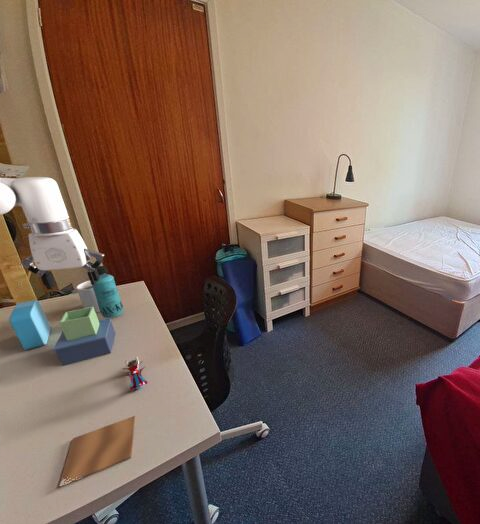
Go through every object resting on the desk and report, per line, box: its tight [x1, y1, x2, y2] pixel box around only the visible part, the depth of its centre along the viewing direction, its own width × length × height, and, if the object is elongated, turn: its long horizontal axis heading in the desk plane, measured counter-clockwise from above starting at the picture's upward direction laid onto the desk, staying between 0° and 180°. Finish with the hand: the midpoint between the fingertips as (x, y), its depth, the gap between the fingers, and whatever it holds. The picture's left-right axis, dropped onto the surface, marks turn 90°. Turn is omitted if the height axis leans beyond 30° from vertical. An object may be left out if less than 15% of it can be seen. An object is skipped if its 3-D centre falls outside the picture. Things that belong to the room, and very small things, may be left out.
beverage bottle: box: [92, 265, 124, 319], centre depth 100 cm, size 6×7×20 cm
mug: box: [76, 280, 101, 314], centre depth 107 cm, size 11×10×10 cm
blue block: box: [52, 317, 116, 367], centre depth 87 cm, size 11×11×6 cm
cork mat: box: [60, 415, 136, 484], centre depth 60 cm, size 11×11×1 cm
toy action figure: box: [122, 356, 149, 392], centre depth 76 cm, size 5×12×6 cm, turn 42°
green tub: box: [59, 307, 100, 341], centre depth 84 cm, size 6×6×6 cm
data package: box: [8, 299, 51, 351], centre depth 88 cm, size 12×4×12 cm, turn 39°
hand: (74, 284), depth 80 cm, fingers open, 9 cm apart
